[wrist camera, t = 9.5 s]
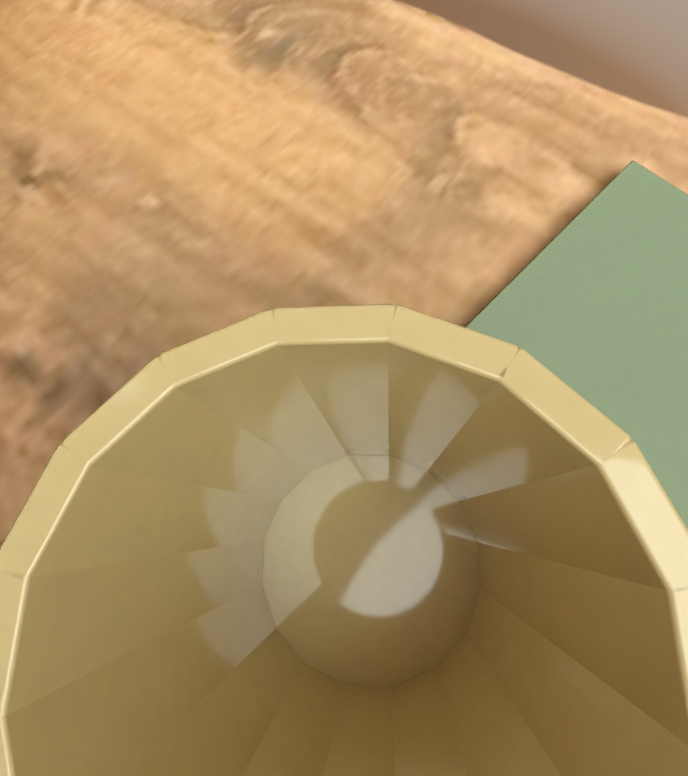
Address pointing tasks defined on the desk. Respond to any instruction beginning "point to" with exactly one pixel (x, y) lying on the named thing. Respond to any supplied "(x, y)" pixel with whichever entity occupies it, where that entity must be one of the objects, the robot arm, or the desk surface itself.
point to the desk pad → (615, 316)
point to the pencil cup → (345, 568)
